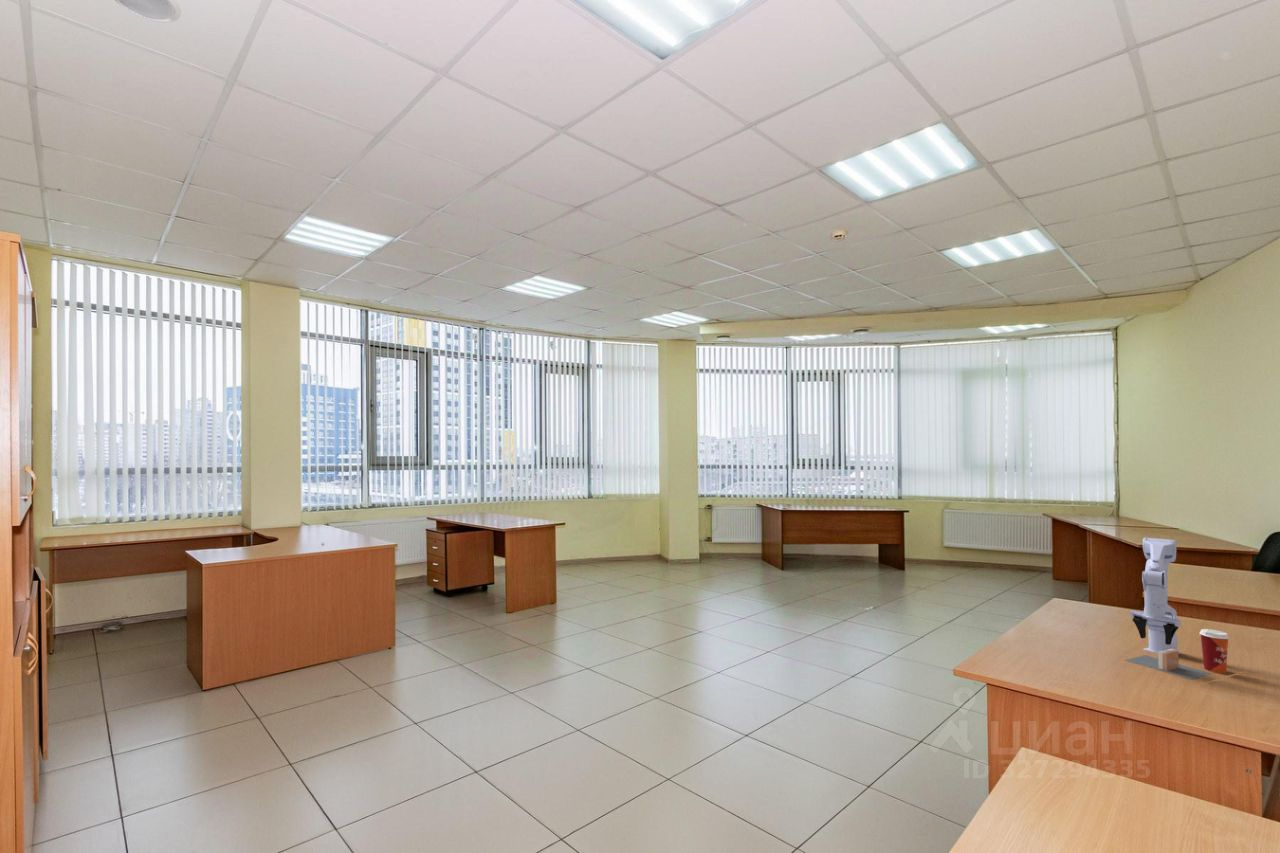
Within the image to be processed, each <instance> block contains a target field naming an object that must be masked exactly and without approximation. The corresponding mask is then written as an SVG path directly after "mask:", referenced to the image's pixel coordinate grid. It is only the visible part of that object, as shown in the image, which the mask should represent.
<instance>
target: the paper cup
mask: <svg viewBox="0 0 1280 853" xmlns="http://www.w3.org/2000/svg"><path fill="white" fill-rule="evenodd" d="M1199 635H1200V642H1201V651H1202V660H1203V669H1204V670H1206V671H1207V672H1208V671H1209V672H1211V673H1218V674H1226V673H1227V665H1228V664H1227V663H1228V646H1229V645H1228V644H1229V639H1230V637H1229V635H1228V633H1227V632H1225V631H1221V630H1218V629H1217V630H1215V629H1210V628H1209V629H1208V628H1202V629H1200V632H1199Z"/></svg>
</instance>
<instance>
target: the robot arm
mask: <svg viewBox="0 0 1280 853" xmlns="http://www.w3.org/2000/svg"><path fill="white" fill-rule="evenodd" d="M1142 552H1143V554H1144V557H1145V559H1146V562H1145V569H1144V570H1143V571H1142V573H1141V581H1142V586H1143V588H1142V589H1143V591H1144V592H1143V593H1144V594H1143V595H1144V597H1143V598H1144V607H1143V611H1139V610H1130V611H1129V612H1130V617H1132V621H1133V622H1132V623H1134V625H1135V626H1136V629H1137V631H1138V634H1139V637H1140V639H1146V637H1148V647H1145V648H1143V650H1144V651H1147V652H1151V653H1154V654H1158V652H1159V651H1163V650H1167V649H1173V650H1177V651H1179V650H1178V634H1177V633H1176V632H1177V630H1178V629H1179V627H1182V621H1181V620H1179V619H1178V613H1177V610H1176V609H1174V608H1173V607H1172V606H1171V605H1169V604H1168V584H1169V583H1168V582H1169V581H1168V573H1169V572H1168V568H1169V567H1170V566H1169V565H1170V563H1173V562H1176V559H1177V541H1176V540H1175V539H1164V538H1154V537H1146V536H1144V537H1143V538H1142ZM1146 627H1147V628H1146ZM1147 629H1148V630H1147ZM1146 630H1147V631H1148V636H1147V634H1146V633H1147V631H1146ZM1179 654H1181V651H1179Z"/></svg>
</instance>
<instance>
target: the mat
mask: <svg viewBox="0 0 1280 853" xmlns="http://www.w3.org/2000/svg"><path fill="white" fill-rule="evenodd" d="M1124 662H1129V663H1133V664H1136V665H1139V666H1142V667H1146V668H1150V669H1153V670H1155V671H1160V672H1163V673H1166V674H1171V675H1174V676H1177V677H1180V678H1184V679H1188V680H1190V681H1191V680H1195V679H1200V678H1202V677H1206V676H1209V675H1213V672H1210V671H1209V672H1208V671H1205V670H1201V669H1197V668H1194V667H1190V666H1187V665H1182V664H1179V668H1176V669H1172V670H1168V671H1166V670H1162V669H1159V663H1158V658H1157V657H1154V656H1149V655H1145V654H1144V655H1140V656H1137V657H1131V658H1128V659H1124Z"/></svg>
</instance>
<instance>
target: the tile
mask: <svg viewBox="0 0 1280 853" xmlns="http://www.w3.org/2000/svg"><path fill="white" fill-rule="evenodd" d="M1179 652H1180V651H1179V650H1178V651H1177V650H1173V649H1167V650H1163V651H1159V652H1158V653H1157V654H1158V655H1157V657H1158V663H1159V669H1162V670H1166V671H1168V670H1172V669H1176V668H1179V663H1180V661H1179V659H1180V658H1179V655H1180V653H1179Z"/></svg>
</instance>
